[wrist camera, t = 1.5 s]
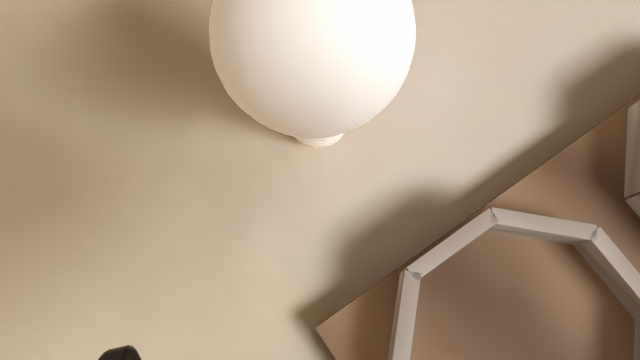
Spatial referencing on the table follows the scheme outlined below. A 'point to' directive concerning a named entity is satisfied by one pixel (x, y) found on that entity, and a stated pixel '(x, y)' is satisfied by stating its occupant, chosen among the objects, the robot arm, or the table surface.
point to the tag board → (521, 269)
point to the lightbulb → (312, 61)
